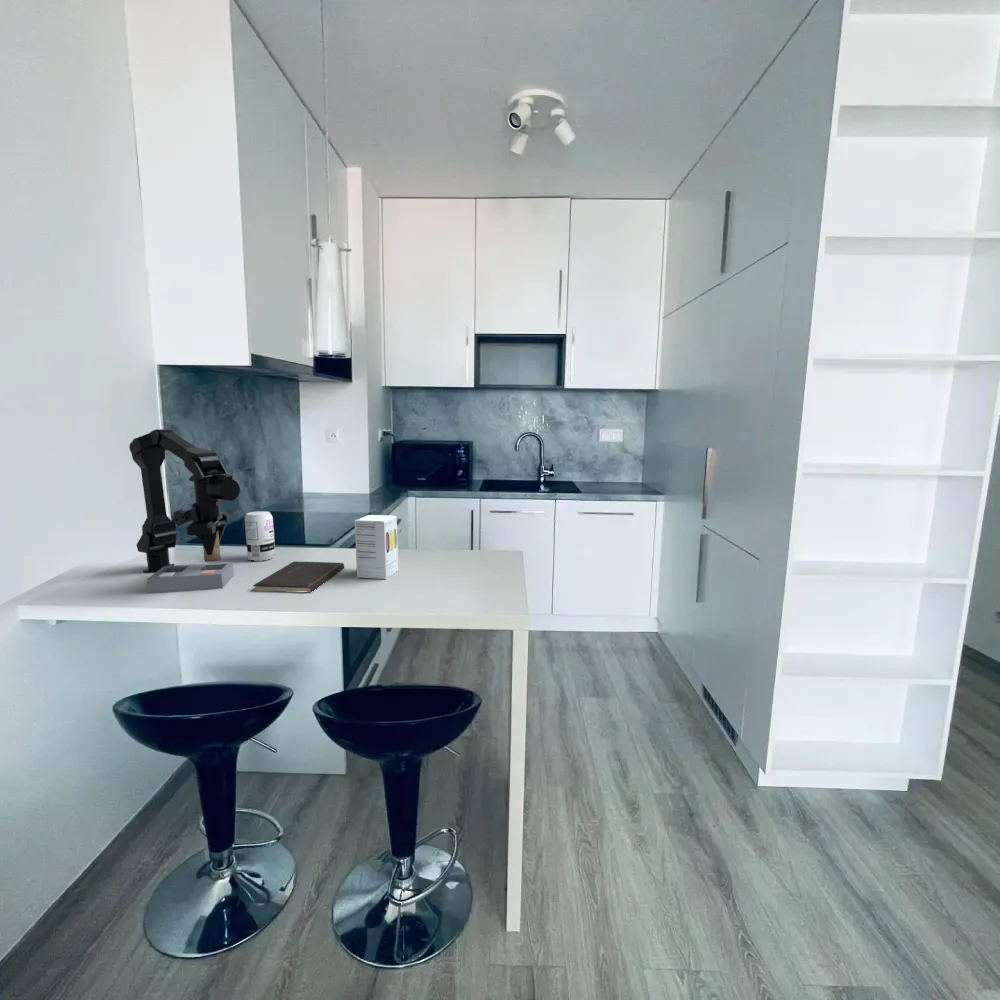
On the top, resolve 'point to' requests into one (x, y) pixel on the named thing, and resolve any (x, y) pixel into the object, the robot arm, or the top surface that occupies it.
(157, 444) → the robot arm
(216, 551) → the walnut peg
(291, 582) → the hardcover book
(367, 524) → the supplement box
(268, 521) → the supplement can
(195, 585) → the socket block
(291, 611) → the top surface
